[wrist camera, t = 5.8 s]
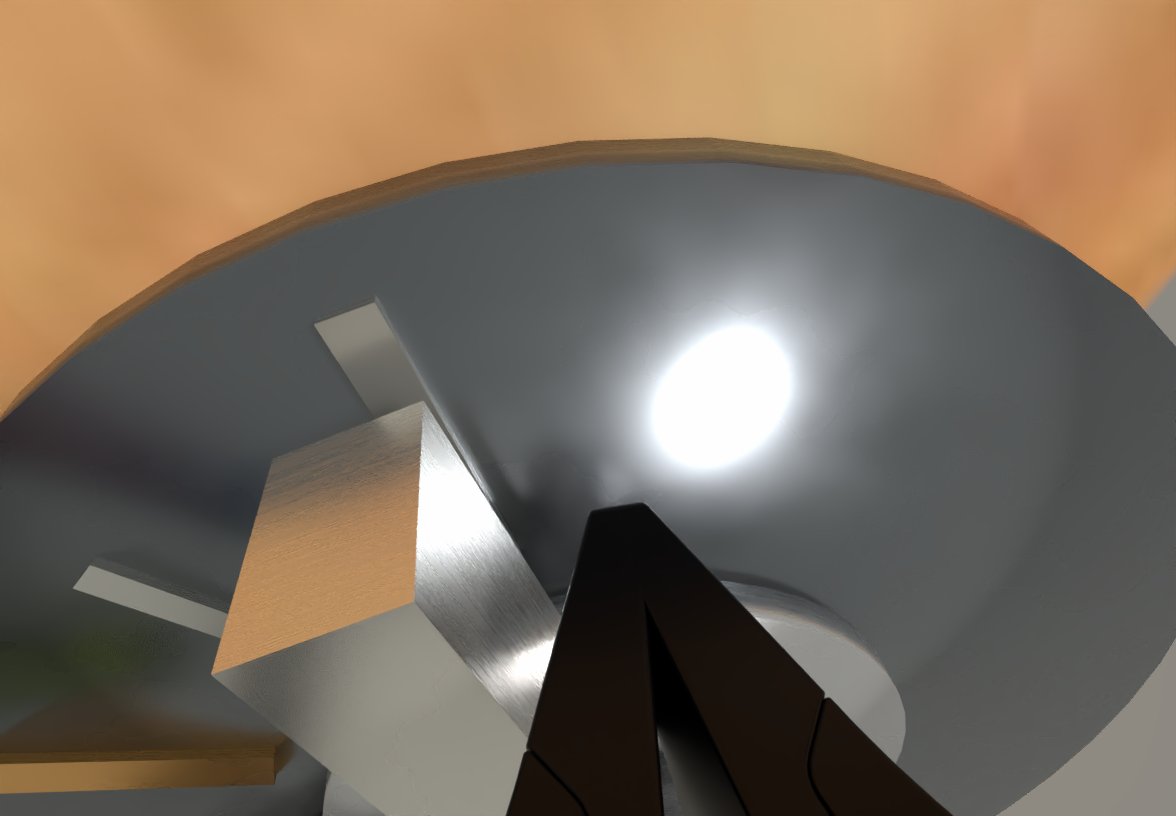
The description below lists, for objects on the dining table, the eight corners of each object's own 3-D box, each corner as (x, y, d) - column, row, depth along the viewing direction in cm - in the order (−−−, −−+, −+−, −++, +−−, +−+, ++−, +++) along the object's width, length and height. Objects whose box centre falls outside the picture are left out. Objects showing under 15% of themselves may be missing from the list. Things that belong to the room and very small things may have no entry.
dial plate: (1103, 789, 24) (1129, 827, 23) (360, 1006, 26) (357, 1050, 25) (1367, -195, 9) (1483, -200, 8) (-552, 527, 10) (-653, 595, 9)
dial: (908, 796, 19) (992, 970, 16) (480, 930, 20) (485, 1117, 18) (801, 216, 9) (975, 400, 6) (-46, 547, 10) (-252, 841, 7)
